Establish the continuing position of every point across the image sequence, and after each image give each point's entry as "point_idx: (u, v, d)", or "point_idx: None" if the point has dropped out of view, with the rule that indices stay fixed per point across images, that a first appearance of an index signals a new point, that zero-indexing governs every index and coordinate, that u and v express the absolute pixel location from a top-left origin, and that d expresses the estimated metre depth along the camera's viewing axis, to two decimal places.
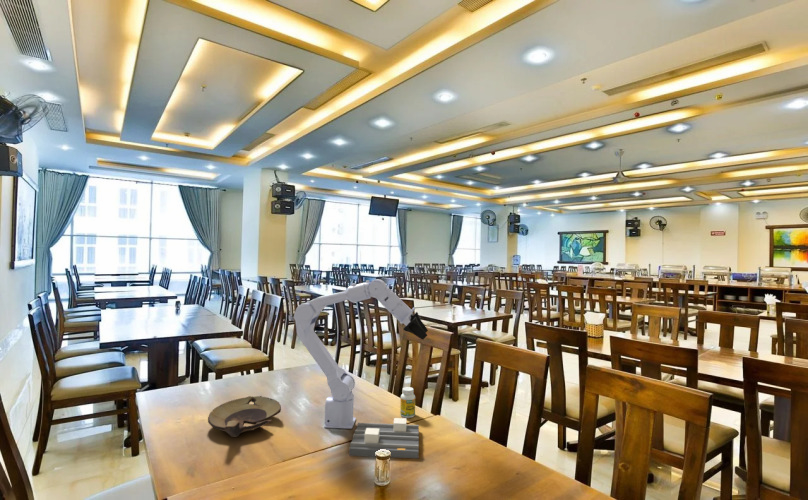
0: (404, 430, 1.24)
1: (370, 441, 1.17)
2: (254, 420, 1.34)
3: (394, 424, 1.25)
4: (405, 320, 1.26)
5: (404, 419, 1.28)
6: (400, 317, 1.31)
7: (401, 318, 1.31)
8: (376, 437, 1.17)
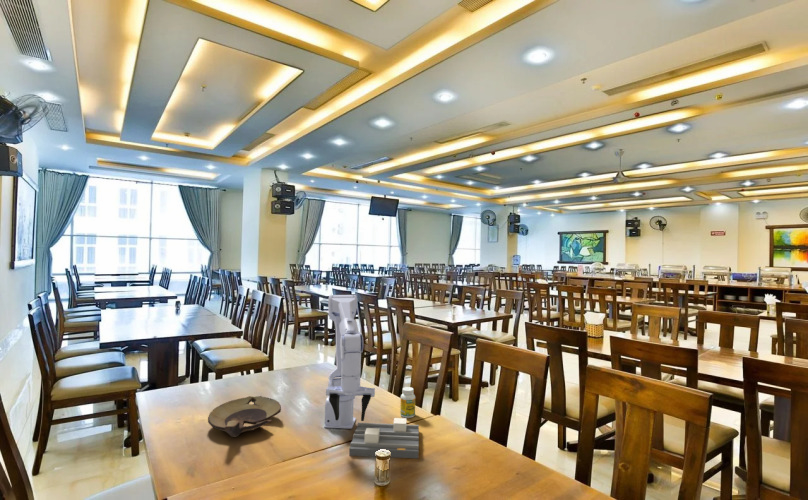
0: (404, 430, 1.24)
1: (370, 441, 1.17)
2: (254, 420, 1.34)
3: (394, 424, 1.25)
4: None
5: (404, 419, 1.28)
6: None
7: None
8: (376, 437, 1.17)
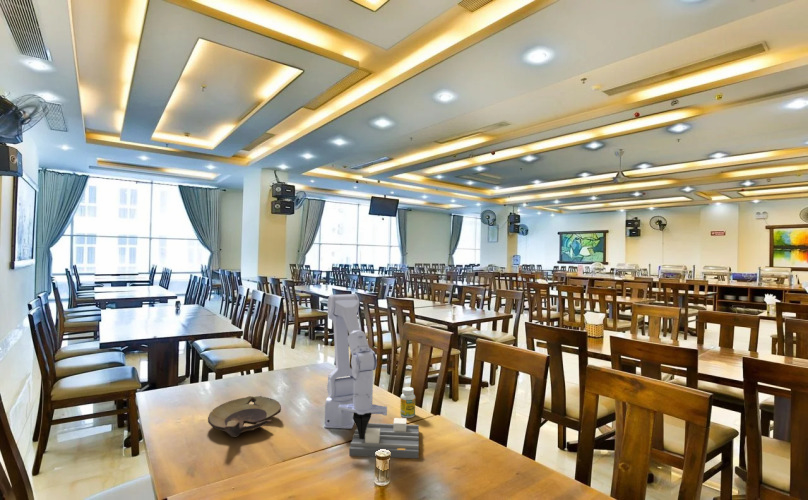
0: (404, 430, 1.24)
1: (371, 441, 1.17)
2: (254, 420, 1.34)
3: (394, 424, 1.25)
4: None
5: (404, 419, 1.28)
6: None
7: None
8: (377, 437, 1.17)
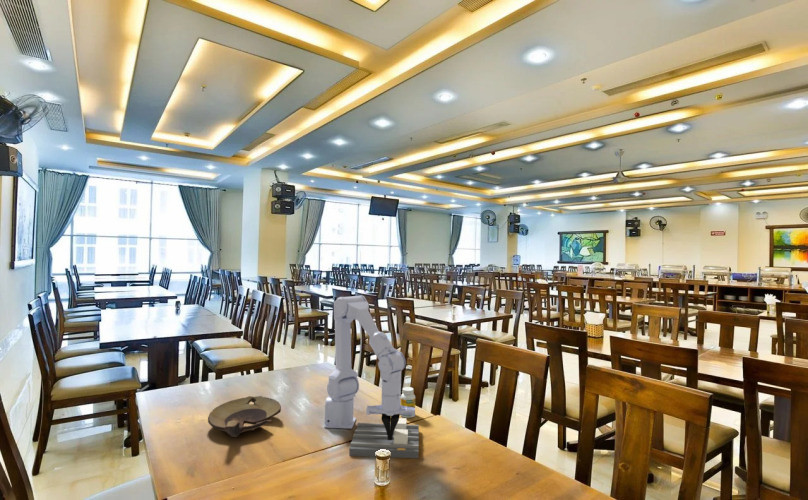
0: None
1: (399, 442, 1.16)
2: (254, 420, 1.34)
3: None
4: None
5: (404, 419, 1.28)
6: None
7: None
8: (405, 438, 1.16)
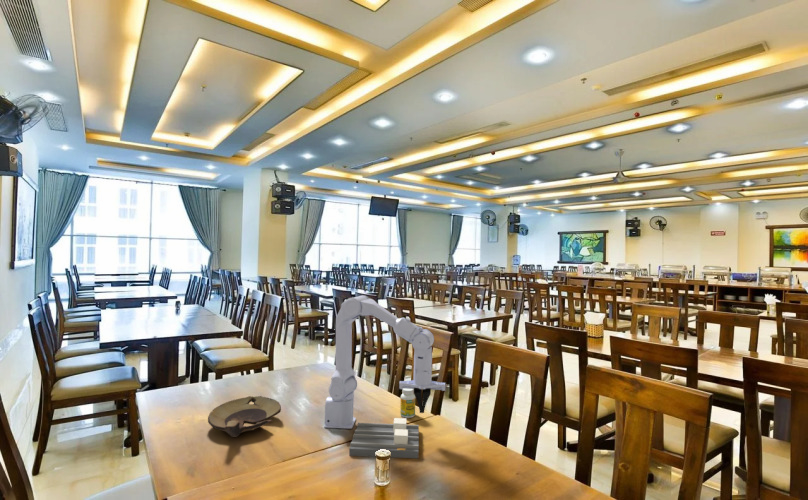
0: None
1: (400, 442, 1.16)
2: (254, 420, 1.34)
3: (394, 424, 1.25)
4: None
5: (404, 419, 1.28)
6: None
7: None
8: (406, 438, 1.16)
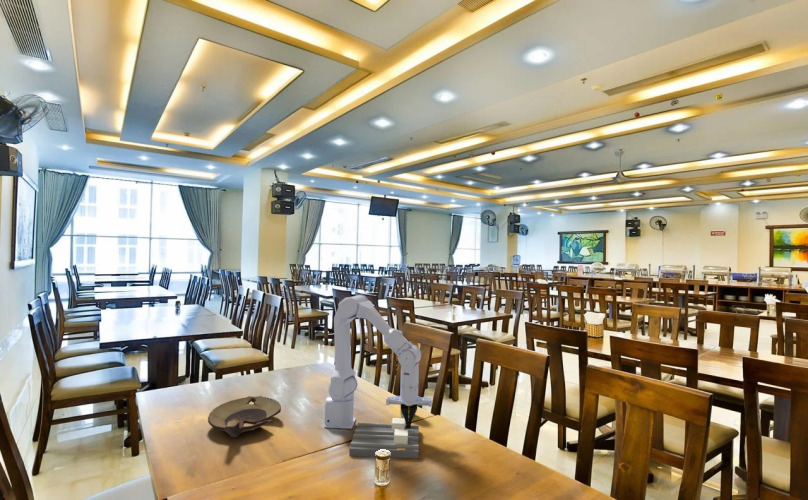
0: None
1: (400, 442, 1.16)
2: (254, 420, 1.34)
3: (392, 424, 1.25)
4: (386, 399, 1.27)
5: (402, 419, 1.28)
6: None
7: None
8: (406, 438, 1.16)
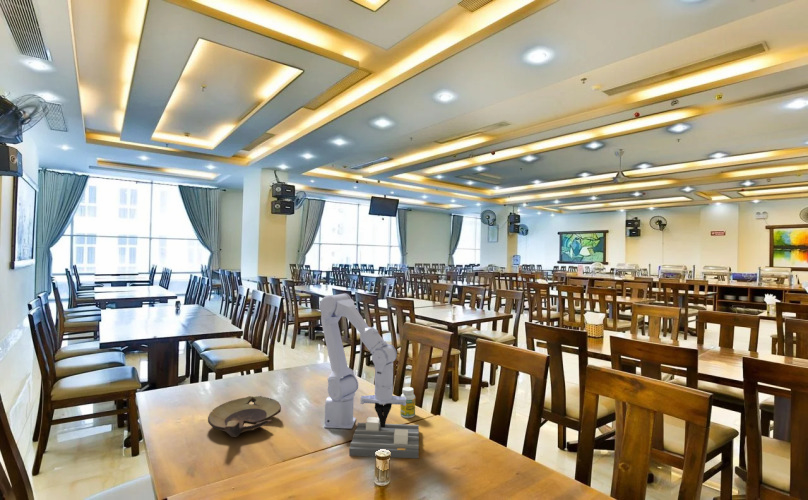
0: (376, 429, 1.25)
1: (400, 442, 1.16)
2: (254, 420, 1.34)
3: (367, 423, 1.25)
4: None
5: (377, 418, 1.28)
6: None
7: None
8: (406, 438, 1.16)
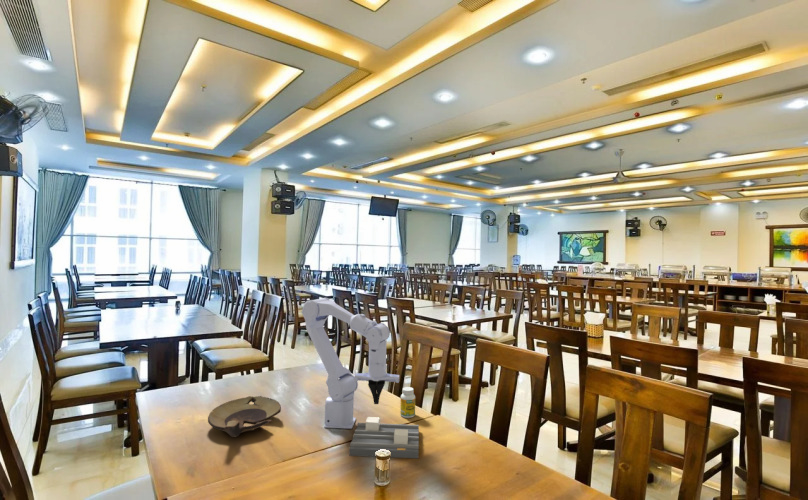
0: (376, 429, 1.25)
1: (400, 442, 1.16)
2: (254, 420, 1.34)
3: (366, 423, 1.25)
4: None
5: (377, 418, 1.28)
6: None
7: None
8: (406, 438, 1.16)
